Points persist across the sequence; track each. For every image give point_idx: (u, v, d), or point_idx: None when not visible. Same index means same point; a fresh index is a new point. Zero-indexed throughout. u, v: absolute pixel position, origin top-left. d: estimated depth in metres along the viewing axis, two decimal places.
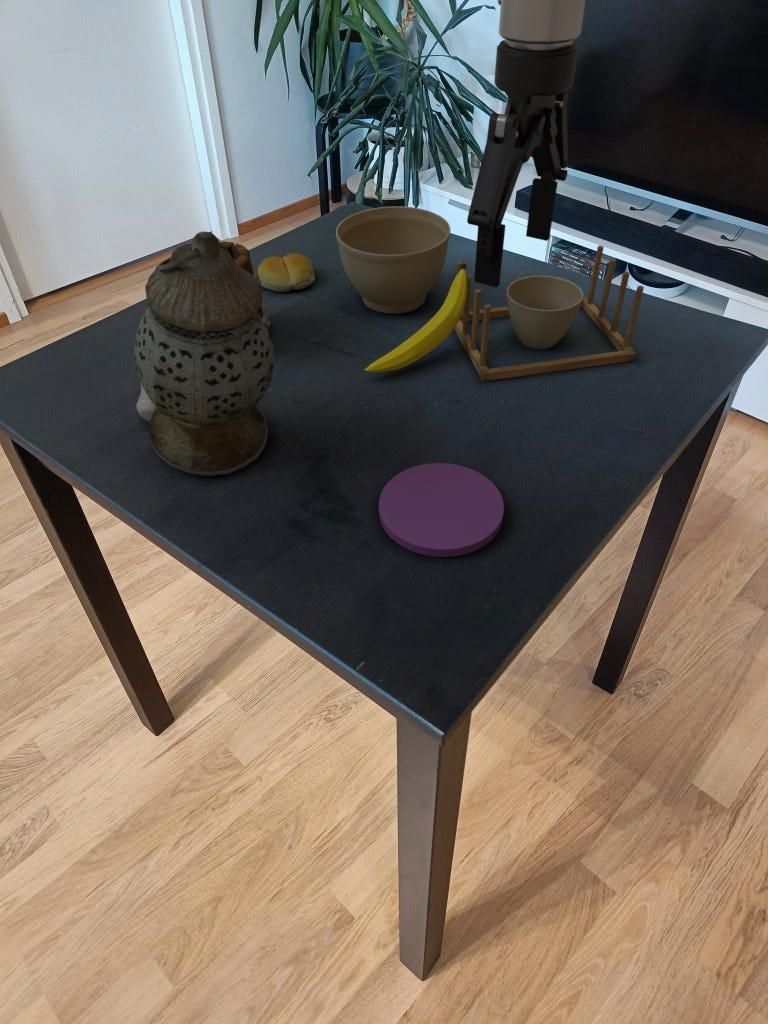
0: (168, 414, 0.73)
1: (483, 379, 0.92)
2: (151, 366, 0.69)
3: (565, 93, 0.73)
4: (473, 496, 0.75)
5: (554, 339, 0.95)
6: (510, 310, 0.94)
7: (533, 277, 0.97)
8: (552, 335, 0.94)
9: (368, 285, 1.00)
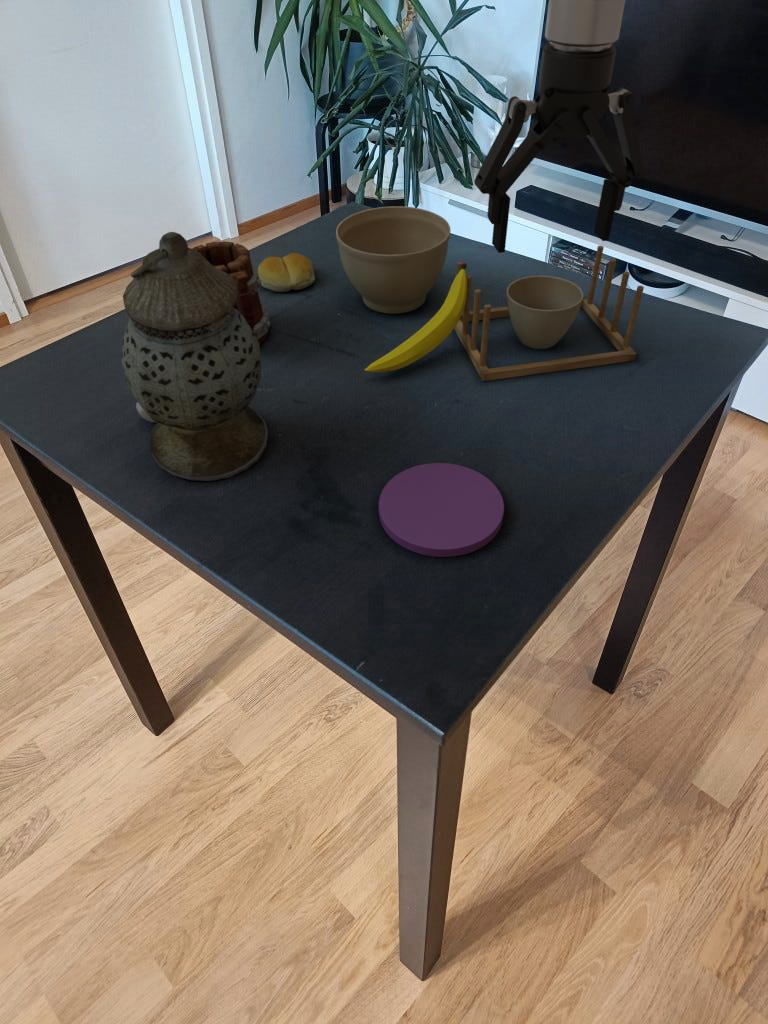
0: (161, 421, 0.74)
1: (483, 379, 0.92)
2: (136, 373, 0.70)
3: (627, 101, 0.78)
4: (473, 496, 0.75)
5: (554, 339, 0.95)
6: (510, 310, 0.94)
7: (533, 277, 0.97)
8: (552, 335, 0.94)
9: (368, 285, 1.00)
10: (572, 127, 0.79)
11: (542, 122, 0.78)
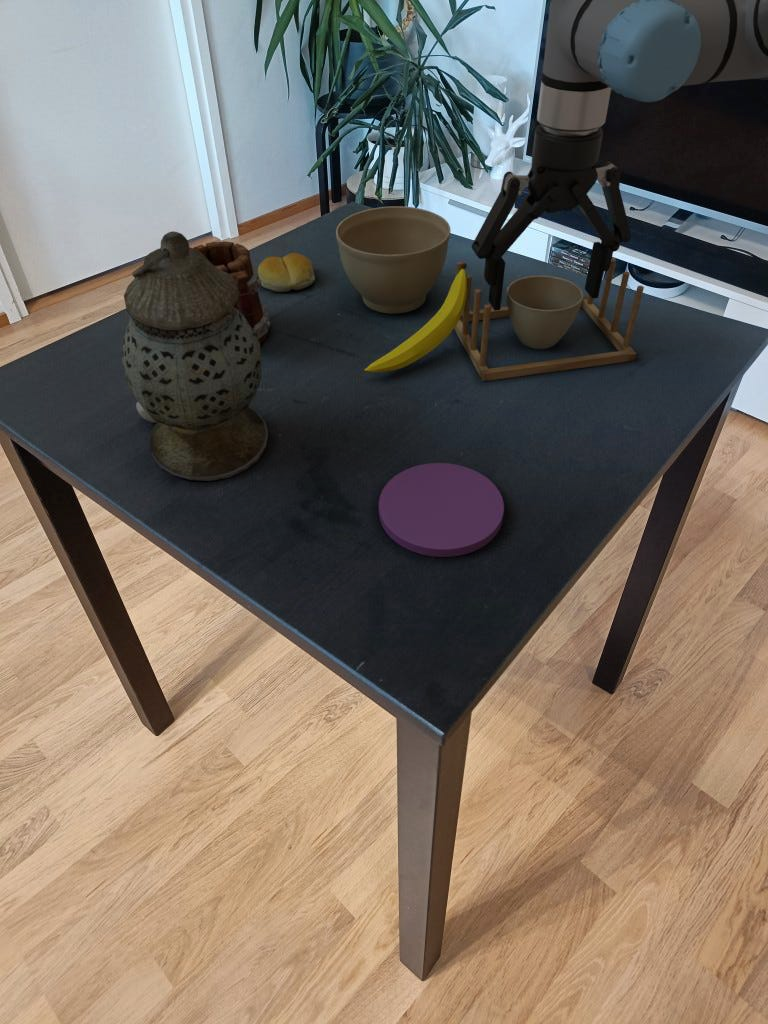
0: (161, 420, 0.74)
1: (483, 379, 0.92)
2: (137, 372, 0.70)
3: (613, 175, 0.84)
4: (473, 496, 0.75)
5: (554, 339, 0.95)
6: (510, 310, 0.94)
7: (533, 277, 0.97)
8: (552, 335, 0.94)
9: (368, 285, 1.00)
10: (563, 199, 0.84)
11: (535, 195, 0.84)
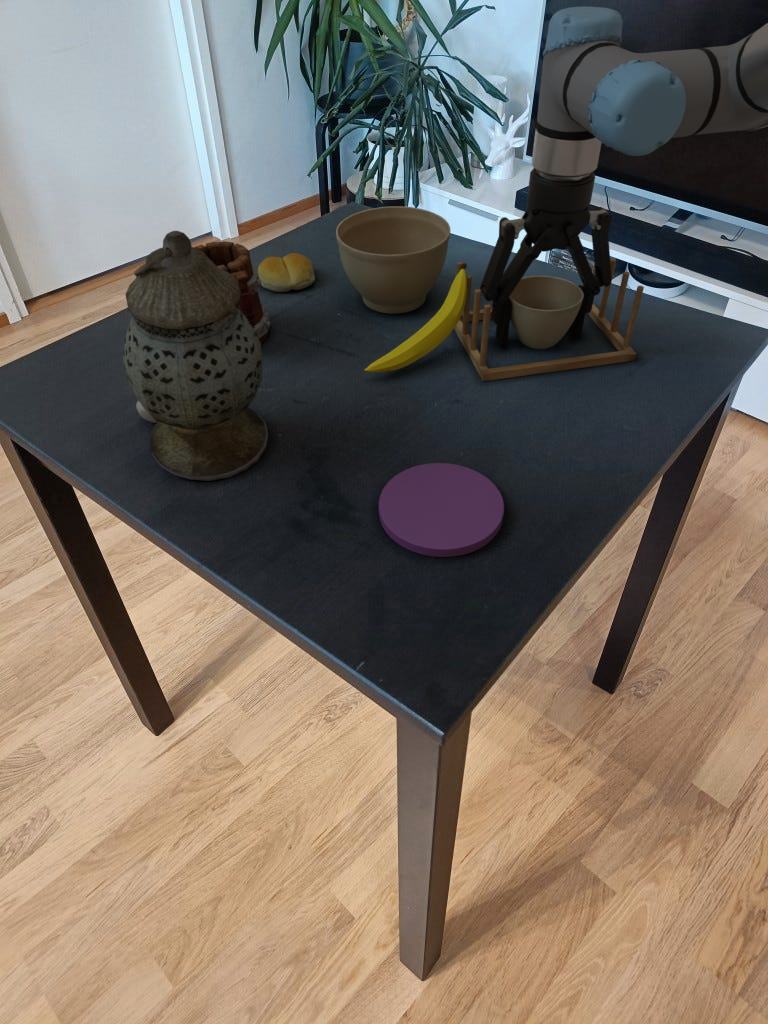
0: (162, 420, 0.74)
1: (483, 379, 0.92)
2: (138, 371, 0.70)
3: (605, 220, 0.87)
4: (473, 496, 0.75)
5: (554, 339, 0.95)
6: None
7: (533, 277, 0.97)
8: (552, 335, 0.94)
9: (368, 285, 1.00)
10: (557, 238, 0.88)
11: (530, 235, 0.87)
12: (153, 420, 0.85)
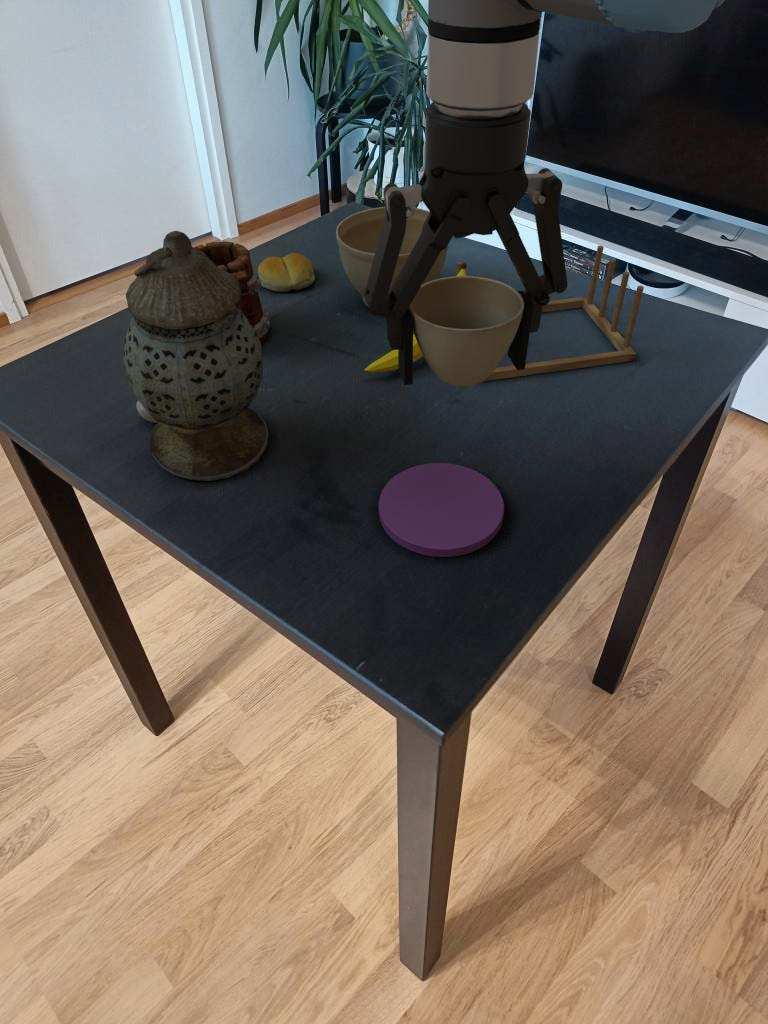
0: (162, 420, 0.74)
1: None
2: (138, 372, 0.70)
3: (551, 188, 0.55)
4: (473, 496, 0.75)
5: (481, 372, 0.63)
6: (414, 329, 0.62)
7: (453, 279, 0.65)
8: (477, 367, 0.62)
9: None
10: (476, 217, 0.55)
11: (432, 211, 0.55)
12: (153, 420, 0.85)
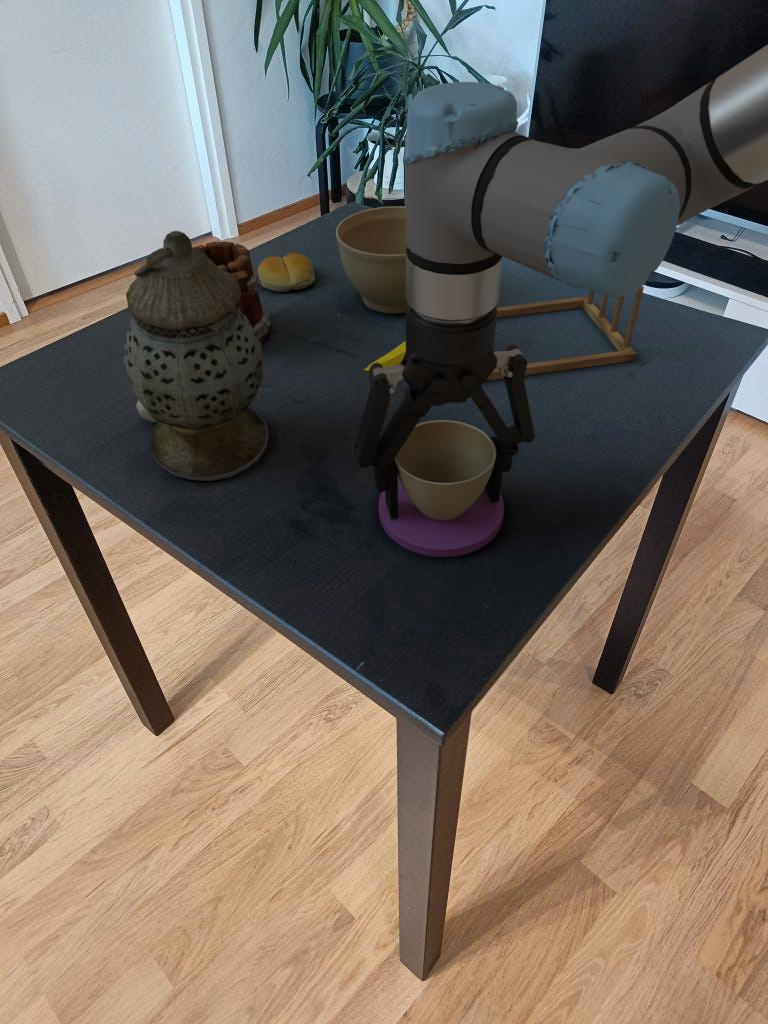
0: (162, 420, 0.74)
1: None
2: (139, 372, 0.70)
3: (517, 366, 0.62)
4: None
5: (458, 511, 0.70)
6: (398, 475, 0.69)
7: (434, 423, 0.72)
8: (454, 509, 0.69)
9: (368, 285, 1.00)
10: (451, 390, 0.63)
11: (412, 387, 0.62)
12: (153, 420, 0.85)
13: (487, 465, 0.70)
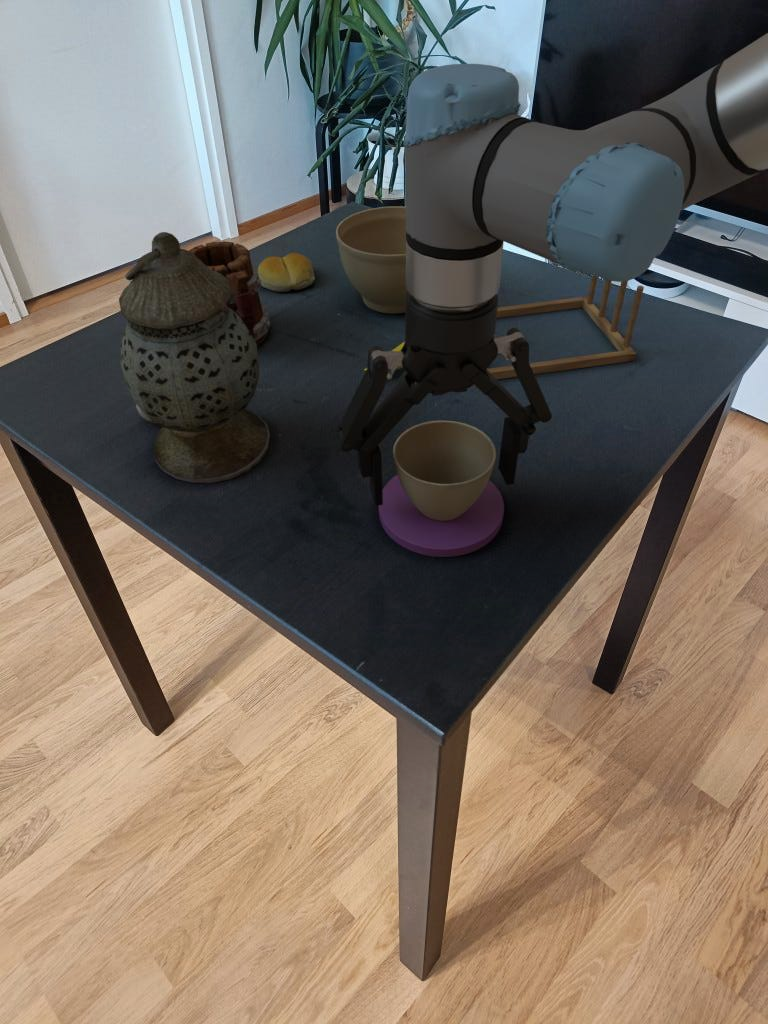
0: (160, 423, 0.74)
1: None
2: (134, 374, 0.70)
3: (519, 350, 0.61)
4: None
5: (458, 512, 0.70)
6: (398, 475, 0.69)
7: (434, 423, 0.72)
8: (454, 510, 0.69)
9: (368, 285, 1.00)
10: (451, 379, 0.62)
11: (412, 376, 0.61)
12: None
13: (487, 466, 0.70)
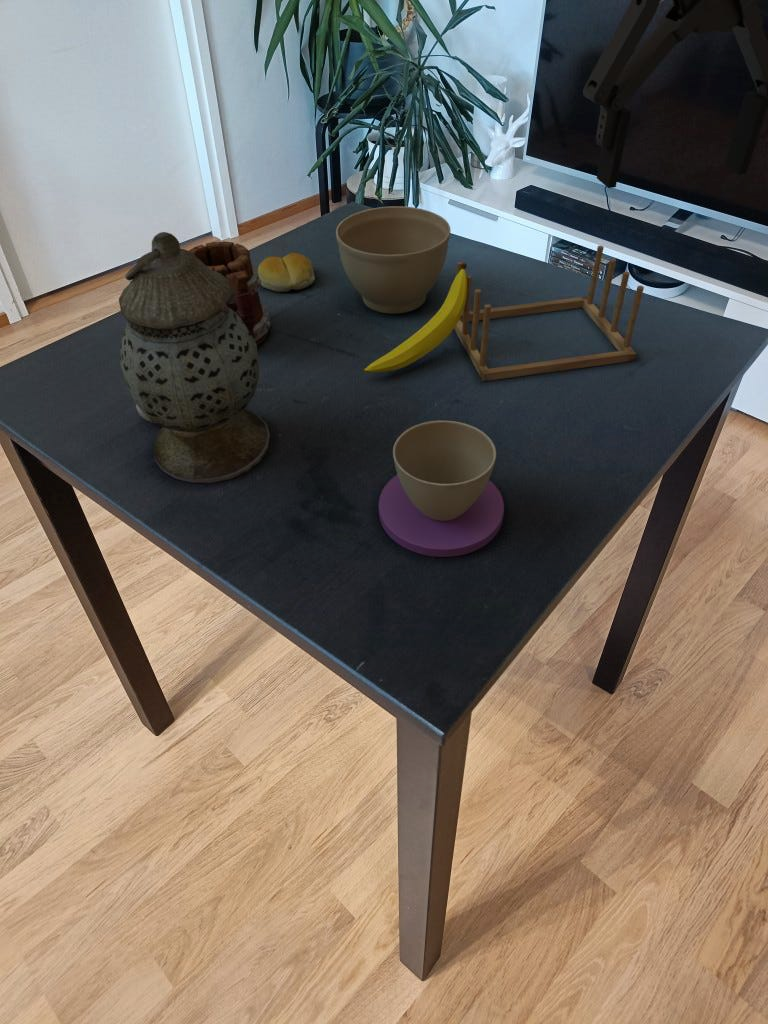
0: (160, 423, 0.74)
1: (483, 379, 0.92)
2: (134, 374, 0.70)
3: None
4: None
5: (458, 512, 0.70)
6: (398, 475, 0.69)
7: (434, 423, 0.72)
8: (454, 510, 0.69)
9: (368, 285, 1.00)
10: (721, 11, 0.59)
11: (683, 3, 0.58)
12: None
13: (487, 466, 0.70)
